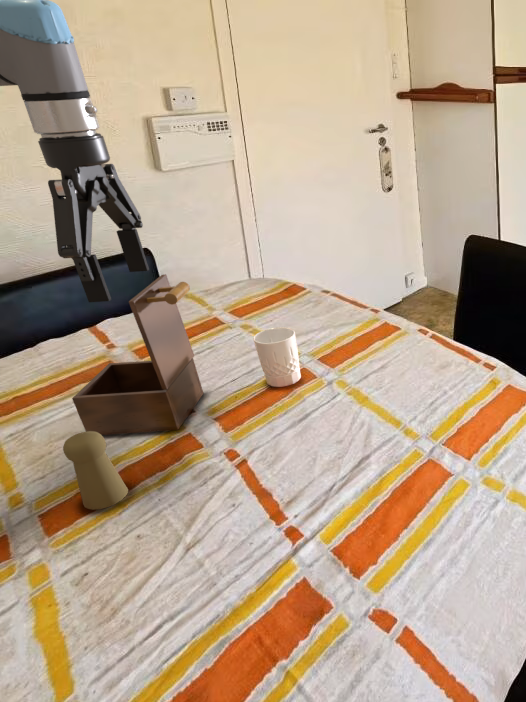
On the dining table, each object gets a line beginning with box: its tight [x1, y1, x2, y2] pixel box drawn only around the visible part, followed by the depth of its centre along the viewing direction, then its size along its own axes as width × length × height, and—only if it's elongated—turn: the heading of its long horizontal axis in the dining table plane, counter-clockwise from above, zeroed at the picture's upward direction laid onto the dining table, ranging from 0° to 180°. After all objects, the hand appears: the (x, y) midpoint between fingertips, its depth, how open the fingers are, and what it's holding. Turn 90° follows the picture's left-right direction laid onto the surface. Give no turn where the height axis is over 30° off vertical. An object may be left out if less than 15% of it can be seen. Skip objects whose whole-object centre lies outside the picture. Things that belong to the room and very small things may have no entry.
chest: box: [71, 357, 204, 436], centre depth 116 cm, size 16×14×8 cm
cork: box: [62, 431, 129, 511], centre depth 93 cm, size 6×6×11 cm
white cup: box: [253, 326, 302, 388], centre depth 126 cm, size 8×8×10 cm
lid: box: [128, 273, 195, 390], centre depth 110 cm, size 16×14×6 cm
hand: (121, 285), depth 94 cm, fingers open, 13 cm apart
